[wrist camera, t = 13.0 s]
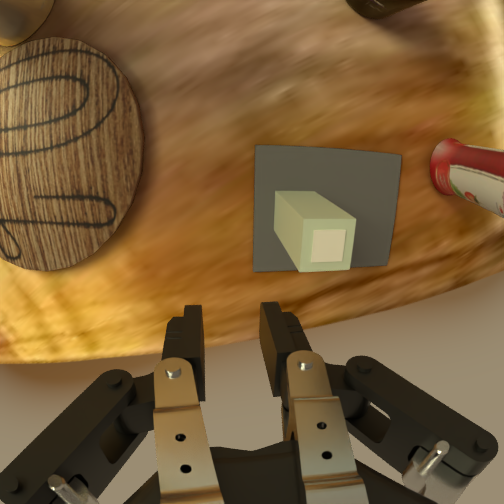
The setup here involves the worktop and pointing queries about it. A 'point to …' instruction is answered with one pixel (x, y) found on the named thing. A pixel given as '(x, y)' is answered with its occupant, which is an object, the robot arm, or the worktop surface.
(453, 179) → the red sauce bottle
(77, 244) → the trivet
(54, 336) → the worktop surface
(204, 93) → the worktop surface
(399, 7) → the supplement bottle
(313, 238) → the block
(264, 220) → the mat
